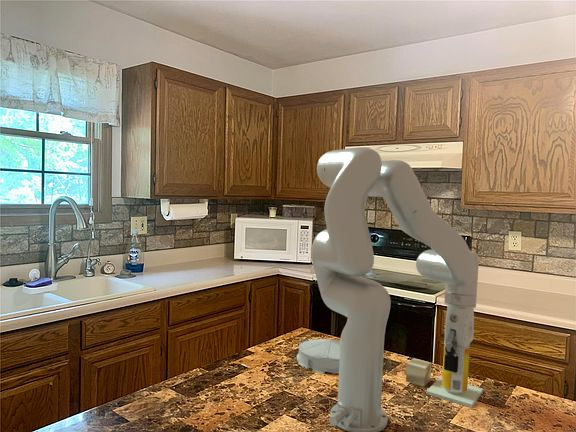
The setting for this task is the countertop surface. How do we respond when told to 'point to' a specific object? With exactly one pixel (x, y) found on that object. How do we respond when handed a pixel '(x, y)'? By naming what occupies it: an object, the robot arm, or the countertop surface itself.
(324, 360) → the food container
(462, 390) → the beer can
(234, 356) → the countertop surface
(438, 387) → the sage mat
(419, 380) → the maple block
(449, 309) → the robot arm
